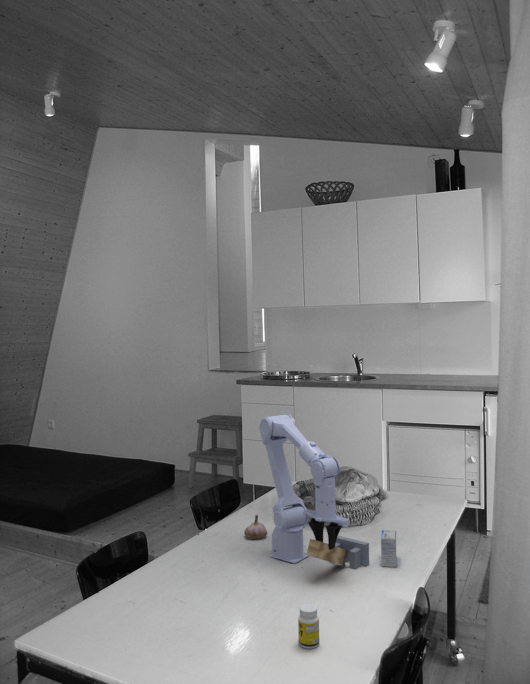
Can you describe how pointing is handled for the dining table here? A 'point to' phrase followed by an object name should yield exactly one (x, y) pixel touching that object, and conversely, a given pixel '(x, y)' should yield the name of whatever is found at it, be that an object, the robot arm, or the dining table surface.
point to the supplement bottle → (308, 626)
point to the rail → (327, 552)
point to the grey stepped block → (354, 551)
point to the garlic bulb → (255, 530)
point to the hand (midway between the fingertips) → (325, 546)
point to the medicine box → (388, 548)
